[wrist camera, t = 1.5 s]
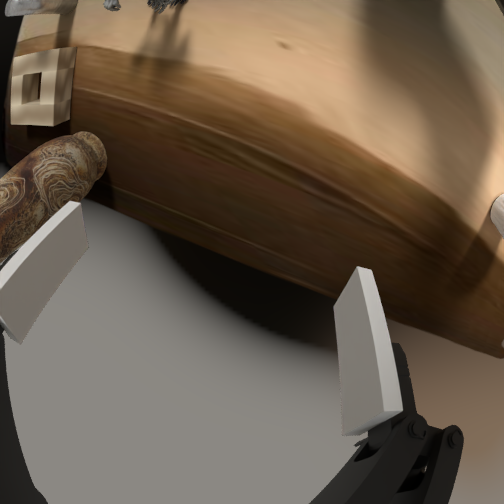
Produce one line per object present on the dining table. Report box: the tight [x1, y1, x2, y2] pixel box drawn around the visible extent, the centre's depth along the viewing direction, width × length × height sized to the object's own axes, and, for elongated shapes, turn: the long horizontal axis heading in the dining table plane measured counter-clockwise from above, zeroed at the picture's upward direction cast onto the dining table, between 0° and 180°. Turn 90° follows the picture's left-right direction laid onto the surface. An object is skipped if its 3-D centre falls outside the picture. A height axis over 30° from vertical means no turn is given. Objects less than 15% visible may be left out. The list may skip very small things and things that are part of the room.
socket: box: [11, 47, 77, 126], centre depth 26 cm, size 12×12×4 cm
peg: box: [5, 0, 78, 16], centre depth 14 cm, size 4×4×12 cm
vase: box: [0, 131, 107, 263], centre depth 24 cm, size 10×11×30 cm
